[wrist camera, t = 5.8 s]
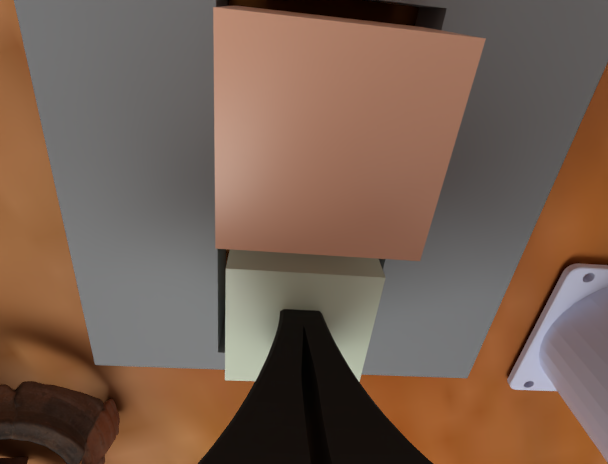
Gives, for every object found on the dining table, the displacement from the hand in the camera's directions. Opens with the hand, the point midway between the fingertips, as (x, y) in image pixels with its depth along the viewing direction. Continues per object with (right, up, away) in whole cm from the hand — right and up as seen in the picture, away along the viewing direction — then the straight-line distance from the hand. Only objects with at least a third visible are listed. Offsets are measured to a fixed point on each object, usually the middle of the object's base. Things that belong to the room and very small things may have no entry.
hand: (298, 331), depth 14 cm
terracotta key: (+1, +7, -2) cm, 7 cm away
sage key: (0, +2, +3) cm, 4 cm away
